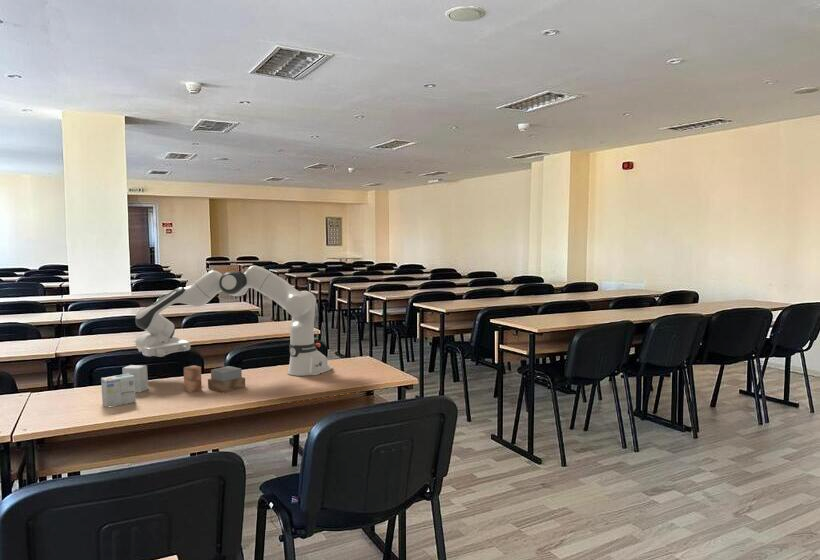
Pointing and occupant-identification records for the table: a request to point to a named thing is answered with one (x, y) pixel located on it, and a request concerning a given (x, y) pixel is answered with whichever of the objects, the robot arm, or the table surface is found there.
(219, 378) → the grey top block
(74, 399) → the table surface
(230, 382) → the walnut base block
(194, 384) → the terracotta block
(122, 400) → the light bulb box
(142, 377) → the small box
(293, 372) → the robot arm
